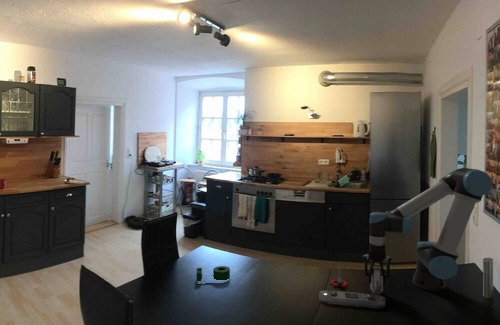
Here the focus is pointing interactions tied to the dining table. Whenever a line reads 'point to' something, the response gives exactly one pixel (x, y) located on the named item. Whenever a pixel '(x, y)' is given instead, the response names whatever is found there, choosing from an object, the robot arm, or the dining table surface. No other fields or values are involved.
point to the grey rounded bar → (352, 299)
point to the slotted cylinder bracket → (215, 273)
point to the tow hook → (339, 280)
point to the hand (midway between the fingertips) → (376, 289)
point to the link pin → (376, 279)
